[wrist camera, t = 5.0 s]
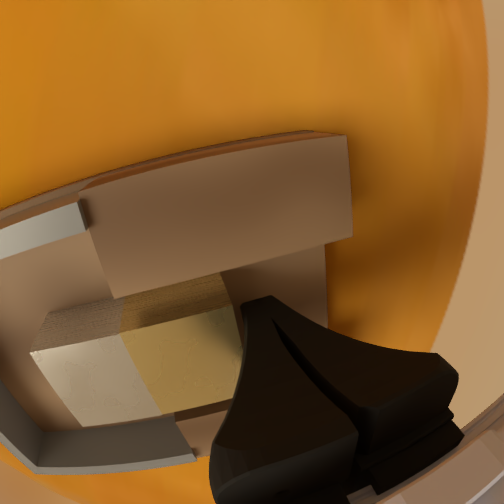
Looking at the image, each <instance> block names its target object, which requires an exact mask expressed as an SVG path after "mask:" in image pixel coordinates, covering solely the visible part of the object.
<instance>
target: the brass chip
mask: <svg viewBox="0 0 504 504" xmlns="http://www.w3.org/2000/svg"><path fill="white" fill-rule="evenodd" d="M119 334H120V336H121V338H122V340H123V342H124V345H125V347H126V349H127V351H128V353H129V355H130V357H131V359H132V361H133V363H134V365H135V366H136V368H137V370H138V372H139V374H140V376H141V378H142V380H143V382H144V383H145V385H146V387H147V389H148V391H149V392H150V394H151V396H152V398H153V399H154V401H155V403H156V405H157V406H158V408H159V410H160V411H161V413H162V414H167V413H172V412H177V411H181V410H186V409H190V408H195V407H199V406H203V405H207V404H212V403H216V402H219V401H223V400H227V399H231V398H233V395H234V392H235V388H236V385H237V381H238V377H239V373H240V368H241V363H242V356H243V349H242V345H241V340H240V336H239V332H238V328H237V323H236V319H235V315H234V310H233V306H232V303H231V301H230V298H229V295H228V293H227V290H226V288H225V285H224V283H223V280H222V278H221V275H220V273H219V272H217V273H214V274H210V275H206V276H202V277H198V278H194V279H190V280H186V281H182V282H178V283H175V284H171V285H167V286H163V287H159V288H155V289H151V290H147V291H143V292H139V293H135V294H131V295H127V296H125V300H124V306H123V312H122V318H121V324H120V330H119Z"/></svg>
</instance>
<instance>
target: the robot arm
mask: <svg viewBox="0 0 504 504" xmlns="http://www.w3.org/2000/svg"><path fill="white" fill-rule="evenodd" d="M240 309H241V314H242V319H243V323H244V347H243V356H242V363H241V368H240V373H239V377H238V381H237V385H236V388H235V392H234V395H233V398H232V400H231V403H230V406H229V408H228V411H227V413H226V416H225V418H224V420H223V422H222V424H221V426H220V428H219V430H218V432H217V434H216V436H215V438H214V440H213V441H212V445H211V453H210V462H209V480H210V486H211V490H212V494H213V498H214V500H215V503H216V504H504V394H503V395H502V396H500V397H499V398H498V399H497V400H496V401H495V402H494V403H493V404H491V405H490V406H489V407H488V408H487V409H486V410H484V411H483V412H482V413H481V414H479V415H478V416H477V417H476V418H475V419H473V420H472V421H471V422H470V423H468V424H467V425H466V426H464V427H463V428H462V429H459V428H458V427H457V426H456V424H455V423H454V422H453V421H452V419H453V417H454V414H453V413H452V412H451V411H450V409H449V408H448V406H449V404H450V402H451V400H452V397H453V395H454V393H455V391H456V388H457V385H458V379H459V377H458V376H459V375H458V373H457V371H456V370H455V369H454V368H453V367H452V366H451V365H450V364H449V363H448V362H447V361H446V360H445V359H443V358H442V357H441V356H440V355H439V354H438V353H426V352H412V351H403V350H397V349H391V348H386V347H381V346H377V345H373V344H369V343H365V342H362V341H358V340H355V339H352V338H350V337H347V336H344V335H342V334H339V333H336V332H334V331H332V330H329V329H327V328H325V327H323V326H321V325H319V324H317V323H315V322H313V321H312V320H310V319H308V318H306V317H305V316H303V315H301V314H300V313H298V312H296V311H295V310H293V309H292V308H290V307H289V306H287V305H286V304H284V303H283V302H281V301H280V300H278V299H277V298H275V297H274V296H272V295H269V296H265V297H262V298H258V299H255V300H251V301H248V302H244V303H242V304H241V306H240Z"/></svg>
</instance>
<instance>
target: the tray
mask: <svg viewBox="0 0 504 504" xmlns="http://www.w3.org/2000/svg"><path fill="white" fill-rule="evenodd" d="M78 191H80V190H78ZM78 191H75V192H72V193H69V194H66V195H63V196H60V197H58V198H55V199H52V200H49V201H46V202H43V203H41V204H38V205H35V206H33V207H30V208H27V209H25V210H22V211H20V212H17V213H15V214H12V215H10V216H7V217H5V218H2V219H0V259H3V258H6V257H8V256H11V255H14V254H17V253H20V252H23V251H26V250H29V249H32V248H35V247H38V246H41V245H44V244H47V243H50V242H53V241H56V240H60V239H63V238H66V237H69V236H72V235H76V234H79V233H82V232H86V231H87V229H88V225H87V222H86V219H85V215H84V212H83V209H82V205H81V202H80V198H79V195H78ZM0 442H1V443H2V444H3V445H4V446H5V447H6V448H7V449H8V450H9V451H10V452H11V453H12V454H13V455H14V456H15V457H16V458H18V459H19V460H20V461H21V462H22V463H23V464H24V465H25V466H26V467H28V468H29V469H30V470H31V471H32V472H33V473H35V474H48V475H83V474H105V473H118V472H129V471H138V470H146V469H154V468H161V467H167V466H173V465H179V464H184V463H190V462H195V461H197V457H196V455H195V453H194V452H193V450H192V449H191V447H190V446H189V444H188V442H187V441H186V439H185V438H184V436H183V434H182V433H181V431H180V429H179V428H178V426H177V424H176V423H175V417H174V416H169V417H164V418H159V419H153V420H148V421H142V422H136V423H130V424H123V425H116V426H109V427H101V428H92V429H82V430H71V431H58V432H43V431H42V430H41V429H40V428H39V427H38V426H37V425H36V423H35V422H34V421H33V420H32V419H31V418H30V416H29V415H28V414H27V413H26V412H25V411H24V409H23V408H22V407H21V406H20V404H19V403H18V402H17V401H16V399H15V398H14V397H13V396H12V394H11V393H10V392H9V390H8V389H7V388H6V386H5V385H4V384H3V382H2V381H1V379H0Z"/></svg>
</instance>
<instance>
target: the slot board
mask: <svg viewBox="0 0 504 504" xmlns="http://www.w3.org/2000/svg"><path fill="white" fill-rule="evenodd" d="M78 190H80V191H78ZM75 191H78V195H79V198H80V202H81V205H82V209H83V212H84V215H85V219H86V222H87V225H88V229H87V231H86V232H82V233H79V234H76V235H72V236H69V237H66V238H63V239H60V240H56V241H53V242H50V243H47V244H44V245H41V246H38V247H35V248H32V249H29V250H26V251H23V252H20V253H17V254H14V255H11V256H8V257H6V258H3V259H0V379H1V381H2V382H3V384H4V385H5V386H6V388H7V389H8V390H9V392H10V393H11V394H12V396H13V397H14V398H15V399H16V401H17V402H18V403H19V404H20V406H21V407H22V408H23V409H24V411H25V412H26V413H27V414H28V415H29V416H30V418H31V419H32V420H33V421H34V422H35V423H36V425H37V426H38V427H39V428H40V429H41V430H42V431H43V432H58V431H71V430H82V429H92V428H101V427H109V426H116V425H123V424H130V423H136V422H142V421H148V420H153V419H159V418H164V417H169V416H174V417H175V423H176V424H177V426H178V428H179V429H180V431H181V433H182V434H183V436H184V438H185V439H186V441H187V442H188V444H189V446H190V447H191V449H192V450H193V452H194V453H195V455H196V456H197V458H199V457H204V456H208V455H210V453H211V445H212V441H213V440H214V438H215V436H216V434H217V432H218V430H219V428H220V426H221V424H222V422H223V420H224V418H225V416H226V413H227V411H228V408H229V406H230V403H231V400H232V398H231V399H227V400H223V401H219V402H216V403H212V404H207V405H203V406H199V407H195V408H190V409H186V410H181V411H177V412H172V413H167V414H163V415H160V416H154V417H149V418H143V419H137V420H131V421H125V422H118V423H111V424H103V425H95V426H86V427H83V426H82V425H81V424H80V423H79V422H78V420H77V419H76V418H75V417H74V415H73V414H72V413H71V412H70V410H69V409H68V408H67V407H66V405H65V404H64V403H63V401H62V400H61V399H60V397H59V396H58V395H57V393H56V392H55V390H54V389H53V388H52V386H51V385H50V383H49V382H48V381H47V379H46V378H45V376H44V375H43V373H42V372H41V370H40V369H39V367H38V366H37V364H36V363H35V361H34V359H33V358H32V356H31V355H30V353H29V352H30V350H31V347H32V345H33V343H34V341H35V338H36V336H37V334H38V332H39V330H40V328H41V326H42V324H43V322H44V320H45V317H46V315H47V313H49V312H53V311H57V310H61V309H65V308H69V307H73V306H77V305H81V304H85V303H89V302H93V301H97V300H101V299H105V298H109V297H114V299H115V298H119V297H123V296H127V295H131V294H135V293H139V292H143V291H147V290H151V289H155V288H159V287H163V286H167V285H171V284H175V283H178V282H182V281H186V280H190V279H194V278H198V277H202V276H206V275H210V274H214V273H217V272H219V273H220V275H221V278H222V280H223V283H224V285H225V288H226V290H227V293H228V295H229V298H230V301H231V303H232V306H233V310H234V315H235V319H236V323H237V328H238V332H239V336H240V340H241V345H242V349H243V347H244V323H243V319H242V314H241V309H240V306H241V304H242V303H244V302H248V301H251V300H255V299H258V298H262V297H265V296H269V295H272V296H274V297H275V298H277V299H278V300H280V301H281V302H283V303H284V304H286V305H287V306H289V307H290V308H292V309H293V310H295V311H296V312H298V313H300V314H301V315H303V316H305V317H306V318H308V319H310V320H312V321H313V322H315V323H317V324H319V325H321V326H323V327H325V328H327V329H328V312H327V284H326V264H325V247H324V244H327V243H331V242H335V241H339V240H342V239H346V238H350V237H353V218H352V198H351V182H350V168H349V156H348V145H347V135H340V134H330V133H318V132H314V131H309V130H302V131H294V132H287V133H280V134H273V135H267V136H261V137H254V138H249V139H243V140H237V141H232V142H227V143H221V144H216V145H211V146H207V147H202V148H197V149H193V150H188V151H184V152H179V153H175V154H171V155H167V156H163V157H159V158H155V159H151V160H147V161H143V162H139V163H136V164H132V165H128V166H125V167H121V168H118V169H114V170H111V171H108V172H104V173H101V174H98V175H95V176H91V177H88V178H85V179H82V180H79V181H76V182H73V183H70V184H67V185H64V186H61V187H59V188H56V189H53V190H50V191H47V192H45V193H42V194H39V195H37V196H34V197H31V198H29V199H26V200H24V201H21V202H19V203H16V204H14V205H11V206H9V207H7V208H4V209H2V210H0V219H2V218H5V217H7V216H10V215H12V214H15V213H17V212H20V211H22V210H25V209H27V208H30V207H33V206H35V205H38V204H41V203H43V202H46V201H49V200H52V199H55V198H58V197H60V196H63V195H66V194H69V193H72V192H75Z"/></svg>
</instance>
